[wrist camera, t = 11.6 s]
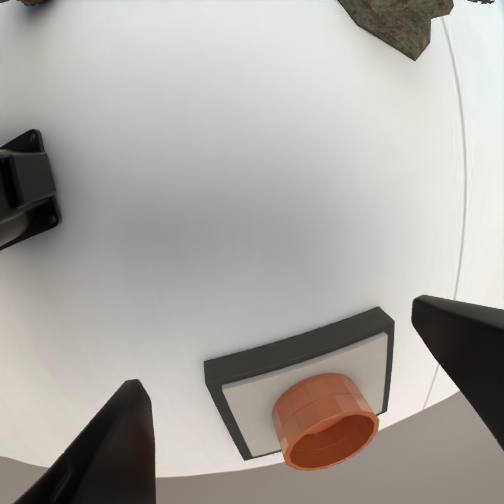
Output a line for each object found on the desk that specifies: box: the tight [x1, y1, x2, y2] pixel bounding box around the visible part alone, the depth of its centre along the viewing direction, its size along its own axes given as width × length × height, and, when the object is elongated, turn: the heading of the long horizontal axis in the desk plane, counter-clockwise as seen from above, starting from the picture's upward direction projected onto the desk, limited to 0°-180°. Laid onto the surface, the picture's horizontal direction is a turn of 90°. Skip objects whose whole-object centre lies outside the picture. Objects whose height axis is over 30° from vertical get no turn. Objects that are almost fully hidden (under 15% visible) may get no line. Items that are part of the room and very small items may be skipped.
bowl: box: [272, 373, 379, 471], centre depth 18 cm, size 7×7×4 cm
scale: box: [204, 307, 395, 461], centre depth 22 cm, size 14×11×3 cm
